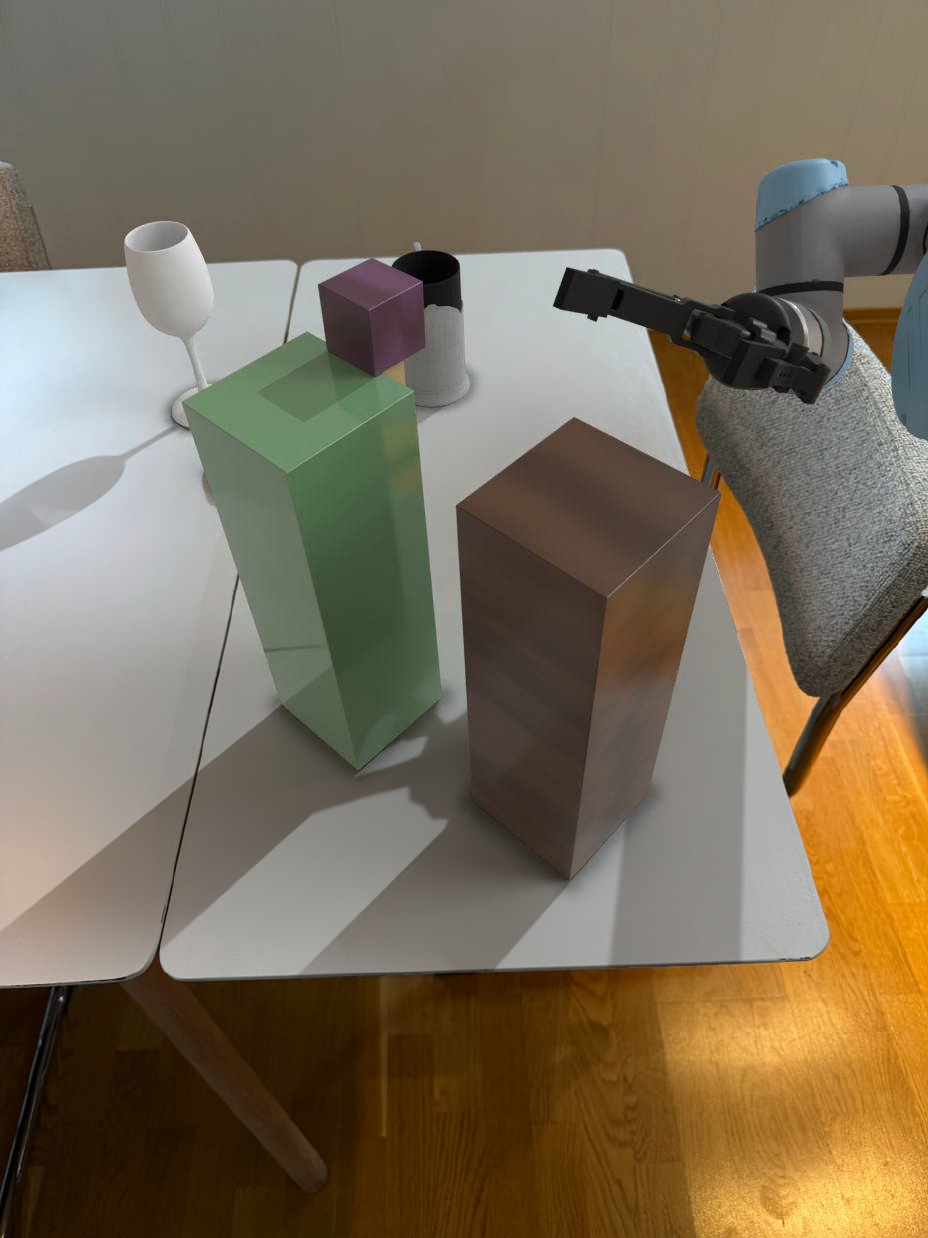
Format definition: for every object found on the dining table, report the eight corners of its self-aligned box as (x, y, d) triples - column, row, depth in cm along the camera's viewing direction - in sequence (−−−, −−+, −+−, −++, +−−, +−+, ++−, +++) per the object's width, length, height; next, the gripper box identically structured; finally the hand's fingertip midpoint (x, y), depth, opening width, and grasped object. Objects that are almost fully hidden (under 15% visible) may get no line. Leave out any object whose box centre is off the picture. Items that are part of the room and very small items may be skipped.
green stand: (358, 771, 74) (286, 473, 50) (281, 704, 79) (180, 401, 54) (442, 697, 79) (414, 390, 54) (365, 638, 83) (306, 330, 59)
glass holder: (402, 411, 105) (389, 292, 94) (388, 343, 114) (375, 228, 103) (475, 401, 106) (472, 282, 94) (456, 335, 115) (451, 220, 103)
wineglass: (189, 382, 110) (135, 213, 94) (256, 388, 109) (213, 218, 93) (160, 426, 105) (97, 254, 89) (229, 433, 103) (179, 260, 87)
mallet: (367, 309, 52) (423, 280, 54) (316, 283, 54) (372, 256, 56) (388, 512, 63) (433, 481, 65) (345, 484, 65) (390, 455, 68)
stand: (569, 881, 67) (606, 598, 43) (471, 801, 72) (455, 504, 47) (648, 793, 72) (722, 492, 47) (551, 723, 76) (573, 415, 52)
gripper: (877, 448, 71) (789, 457, 54) (621, 334, 82) (485, 313, 66) (928, 355, 68) (851, 336, 51) (654, 250, 79) (519, 206, 63)
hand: (644, 323), depth 59 cm, fingers open, 13 cm apart
